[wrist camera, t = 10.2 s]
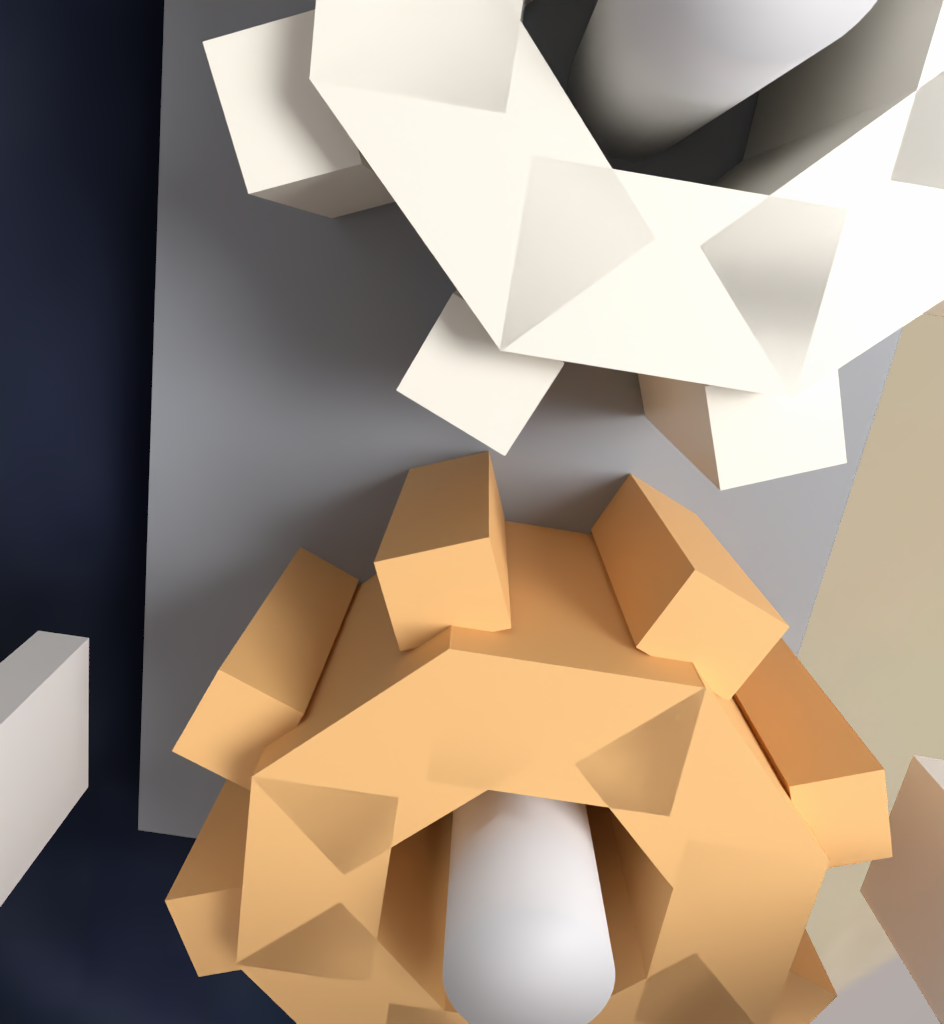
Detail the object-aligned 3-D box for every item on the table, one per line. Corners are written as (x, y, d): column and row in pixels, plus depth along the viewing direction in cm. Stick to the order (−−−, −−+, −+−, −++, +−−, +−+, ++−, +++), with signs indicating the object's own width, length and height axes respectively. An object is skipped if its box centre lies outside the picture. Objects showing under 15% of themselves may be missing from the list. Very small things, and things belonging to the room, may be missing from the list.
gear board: (167, 782, 17) (-61, 1150, 10) (215, -290, 11) (-235, -1203, 4) (696, 860, 18) (839, 1267, 10) (1002, -145, 12) (1785, -769, 5)
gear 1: (285, 359, 13) (163, 414, 8) (349, -397, 10) (217, -1022, 5) (853, 450, 13) (1064, 559, 8) (1079, -260, 10) (1602, -723, 5)
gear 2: (242, 870, 16) (139, 1126, 11) (281, 417, 13) (163, 504, 8) (697, 935, 16) (782, 1211, 12) (832, 506, 13) (1021, 638, 9)
